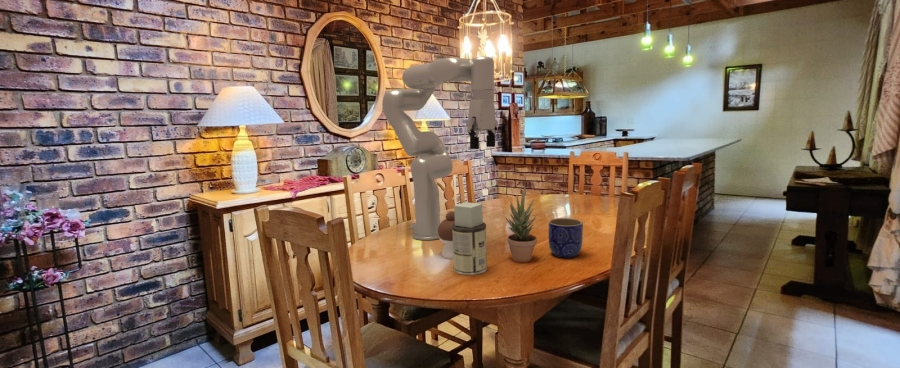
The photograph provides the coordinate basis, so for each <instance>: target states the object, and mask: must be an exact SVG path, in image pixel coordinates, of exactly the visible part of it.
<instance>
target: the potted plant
mask: <svg viewBox="0 0 900 368" xmlns="http://www.w3.org/2000/svg"><path fill="white" fill-rule="evenodd" d="M520 198H521V200H520V201H519V196H518V195H516V208H515V206H514V204H513V202H512V201H510V202H509V203H510V205H509V208H510V210H511V213H510V217H511V219H512V220H511V219H508V218H507V217H505V220H506V221H507V223H508V224H509V227H508V229H509V230H510V231H511V232H512V234H509V235H507V237H506V242H507V244H508V246H509V250H510V253H511V259H512V260H513V261H515V262H518V263H526V262H530V261H531V260H532V258H533V253H534V250H535V246H536V245H537V243H538V237H537V236H536V235H534V234H531V233H530V232H531V231H532V229H533V226H534V224H533V222H534V221H535V220H536V218H537V217H536V216H534V217H533V218H532V219H530V217H531V214H532V213H533V210H534V208H532V206H533V204H534V201H535V198H533V199H532V201H531V202H530V203H529V206H528V207H527V209H526V210H525V201H526V183H524V185H523V190H522V193H521V197H520ZM531 208H532V209H531Z"/></svg>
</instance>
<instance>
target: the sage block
mask: <svg viewBox="0 0 900 368" xmlns="http://www.w3.org/2000/svg"><path fill="white" fill-rule="evenodd" d="M454 212H455V226H462V227H469V228H473V227H475V226H478V225H480V224H483V222H484V220H483V219H484V218H483V217H484V216H483V215H484V214H483V203H475V202H467V201H466V202H462V203H459V204H456V205H454Z"/></svg>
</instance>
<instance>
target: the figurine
mask: <svg viewBox="0 0 900 368" xmlns="http://www.w3.org/2000/svg"><path fill="white" fill-rule="evenodd" d="M445 218H446V219H442V221H440V225H439V227H438V235H439V240H440V242H442V243H443V246H442V249H441V253H440V254H441V257H442V258H443V259H447V260H454V258H453V232H452V224H454V223H455V211H452V210H451V211H447V213H446V216H445Z"/></svg>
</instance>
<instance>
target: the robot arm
mask: <svg viewBox="0 0 900 368" xmlns="http://www.w3.org/2000/svg"><path fill="white" fill-rule="evenodd" d="M494 62H495V61H494V58H492V57H490V56H477V57H476V56H475V57H473V58H466V57H465V58H462V57H445V58H440V59H434V60H433V61H432V62H428V63H423V64H416V65H412V66H409V67H406V69H405V70H404V71H403V72H402V77H401V79H402V80H401V81H402V82H403V84H404V86H406V87H407V88H395V89H391V90H388V91H387V92H385V93H384V95H383V97H382V104H381V105H382V111H383V114H384V116H385V120H386V121H387V122H388V123H389V125H390V126H391V128H392V130H393V131H394V133H395V135H396V137H397V138H398V141H399V142H400V145H401V146H402V148H403V151H404V152H405V154H406V155H407V156H408V157H415V158H414V159H413V160H412V161H411V163H410V174H411V178H412V183H413V192H414V195H413V196H414V211H415V213H414V214H415V222H412V223H411V224H410V225H409V229H410V230H413V232H412V235H411V236H412V238H413V239H415V240H421V241H433V240H438V239H439V235H438V227H439V225H440V224H441V212H440V211H441V209H440V208H441V206H440V190H439V187H438V184H437V182H436V179H442V178H447V177H448V176H450V175H451V174H452V172H453V168H454V167H453V165H454V164H453V161H452V158H451V155H450V154H449V152H448V150H447V149H446V147H445V145H444V143H443V141H442V140H441V138H440V136H439V135H438V134H437V133H435V132H433V131H430V130H429V131H428V130H427V131H421V130H419V128H418V127H417V125H416V123H415V121H414V120H413V119H412V117H410V116H409V115H408V114H407V113H406V112H410V111H413V112H414V111H420V110H422V109H424V107H425V106H426V105H427V103H428V102H429V99H430V98H431V97H432V95H433V93H434V92H435V90H436V89H437V87H439V86H441V85H442V84H443V83H444V82H465V83H466V82H468V83H470V99H471V100H470V101H469V105H468V107H469V108H468V116H467V117H468V119H467V122H466V124H465V127H466V129H467V133H468V137H469V149H470V150H479V149H480V137H479V134H480V132H481V131H486V133H487V134H486V147H488V148H491V147H492V148H495V147H496V135H497V131H498V126H499V121H498V120H496V109H495V107H496V106H495V101H494V100H495V63H494ZM439 240H440V239H439Z"/></svg>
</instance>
